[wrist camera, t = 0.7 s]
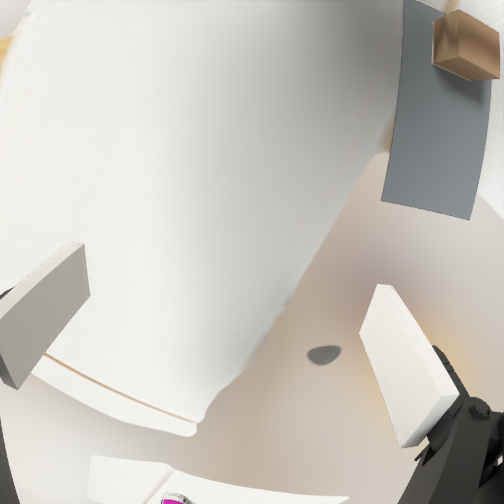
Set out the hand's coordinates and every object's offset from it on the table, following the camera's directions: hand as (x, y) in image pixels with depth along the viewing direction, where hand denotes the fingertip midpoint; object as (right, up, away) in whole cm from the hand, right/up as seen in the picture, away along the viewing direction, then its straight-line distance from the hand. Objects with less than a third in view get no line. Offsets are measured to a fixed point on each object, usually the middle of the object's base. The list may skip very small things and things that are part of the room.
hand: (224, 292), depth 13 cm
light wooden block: (+29, +29, +15) cm, 44 cm away
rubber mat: (+28, +21, +19) cm, 40 cm away
